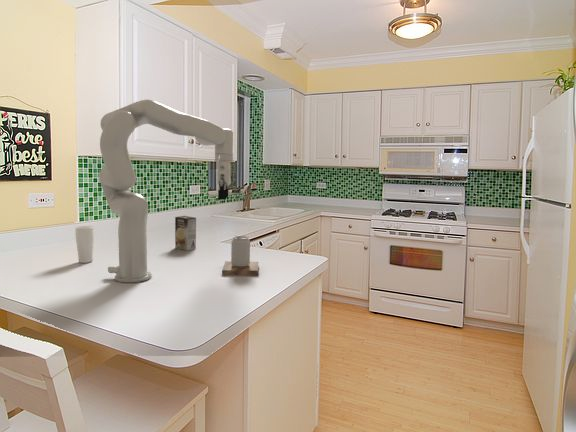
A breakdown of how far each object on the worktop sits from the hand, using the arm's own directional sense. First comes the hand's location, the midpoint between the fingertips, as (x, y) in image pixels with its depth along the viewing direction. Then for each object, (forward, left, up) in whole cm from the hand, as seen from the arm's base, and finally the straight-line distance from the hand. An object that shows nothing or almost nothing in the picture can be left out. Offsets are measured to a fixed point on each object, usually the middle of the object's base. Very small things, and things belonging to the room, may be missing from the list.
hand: (223, 198), depth 166 cm
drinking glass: (-57, -2, -28) cm, 64 cm away
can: (+8, -13, -26) cm, 31 cm away
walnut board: (+9, -13, -28) cm, 32 cm away
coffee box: (-21, +28, -28) cm, 45 cm away
